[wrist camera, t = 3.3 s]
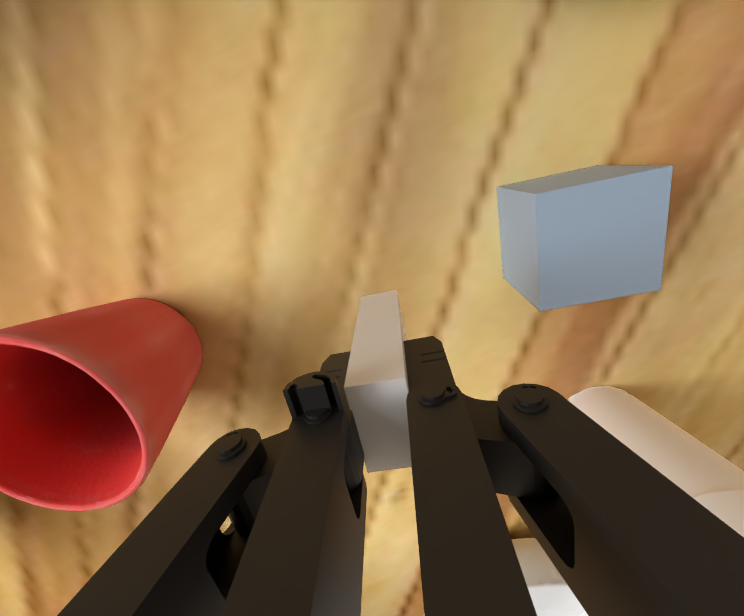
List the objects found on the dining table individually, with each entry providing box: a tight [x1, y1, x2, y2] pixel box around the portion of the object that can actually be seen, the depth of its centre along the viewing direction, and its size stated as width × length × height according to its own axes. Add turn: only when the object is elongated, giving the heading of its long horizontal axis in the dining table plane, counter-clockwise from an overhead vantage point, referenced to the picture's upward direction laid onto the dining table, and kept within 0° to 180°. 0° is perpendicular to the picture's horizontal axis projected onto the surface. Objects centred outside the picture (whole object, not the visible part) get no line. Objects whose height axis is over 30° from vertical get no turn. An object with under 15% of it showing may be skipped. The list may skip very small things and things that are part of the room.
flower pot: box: [0, 298, 203, 511], centre depth 22 cm, size 11×11×10 cm
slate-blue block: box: [497, 165, 673, 311], centre depth 20 cm, size 6×6×6 cm
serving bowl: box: [423, 538, 588, 616], centre depth 33 cm, size 21×21×7 cm
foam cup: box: [568, 385, 744, 537], centre depth 22 cm, size 10×9×13 cm
